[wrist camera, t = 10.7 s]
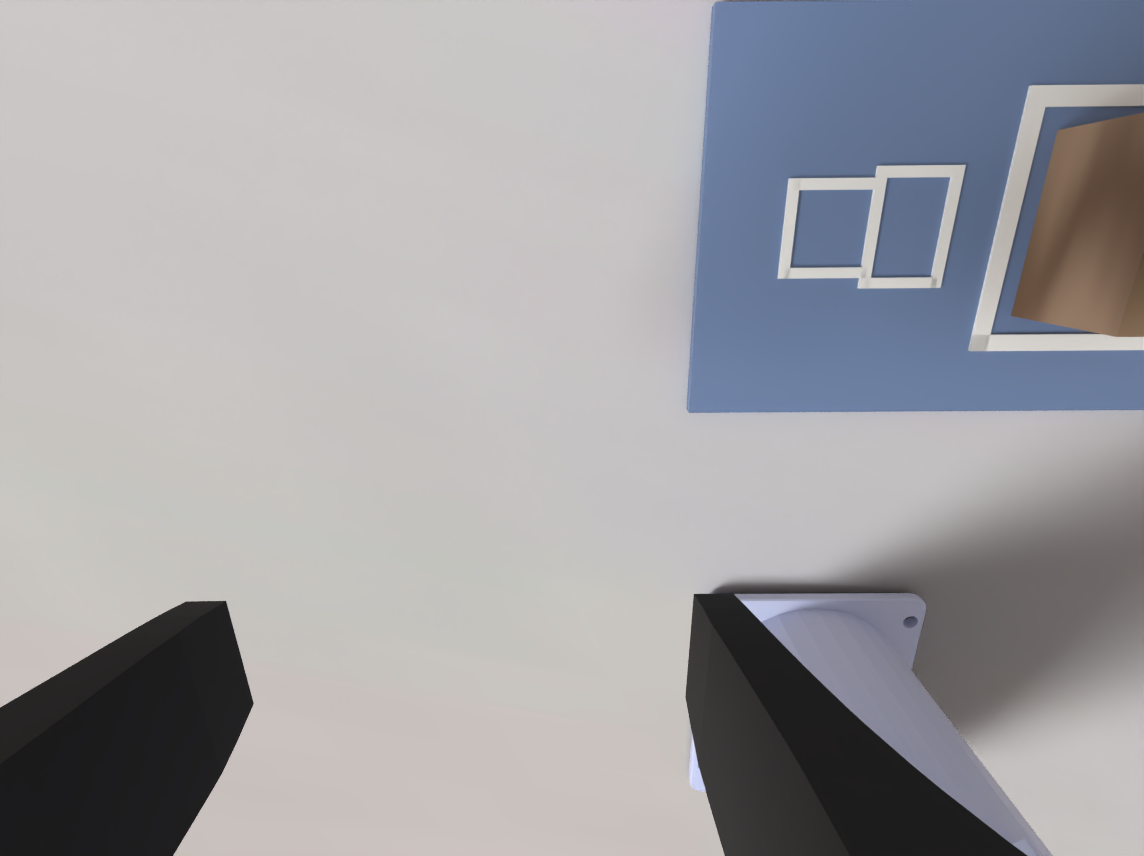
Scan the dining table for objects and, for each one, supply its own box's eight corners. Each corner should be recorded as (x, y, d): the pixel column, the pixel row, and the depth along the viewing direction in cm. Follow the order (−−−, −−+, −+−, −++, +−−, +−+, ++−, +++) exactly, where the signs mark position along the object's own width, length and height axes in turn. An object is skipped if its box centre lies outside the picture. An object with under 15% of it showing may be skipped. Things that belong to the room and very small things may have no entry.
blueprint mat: (1179, 405, 18) (1195, 410, 18) (686, 409, 18) (689, 413, 18) (1328, 1, 15) (1353, -7, 14) (712, 7, 15) (716, 0, 14)
